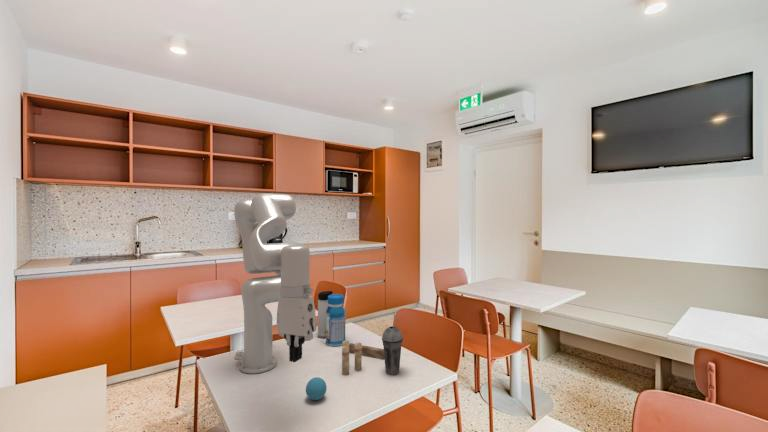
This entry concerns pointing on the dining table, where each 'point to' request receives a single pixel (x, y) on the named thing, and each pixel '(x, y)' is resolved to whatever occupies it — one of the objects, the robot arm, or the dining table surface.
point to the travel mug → (322, 312)
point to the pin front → (345, 360)
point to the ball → (316, 388)
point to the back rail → (368, 351)
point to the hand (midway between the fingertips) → (295, 359)
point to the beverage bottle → (335, 320)
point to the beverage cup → (392, 349)
